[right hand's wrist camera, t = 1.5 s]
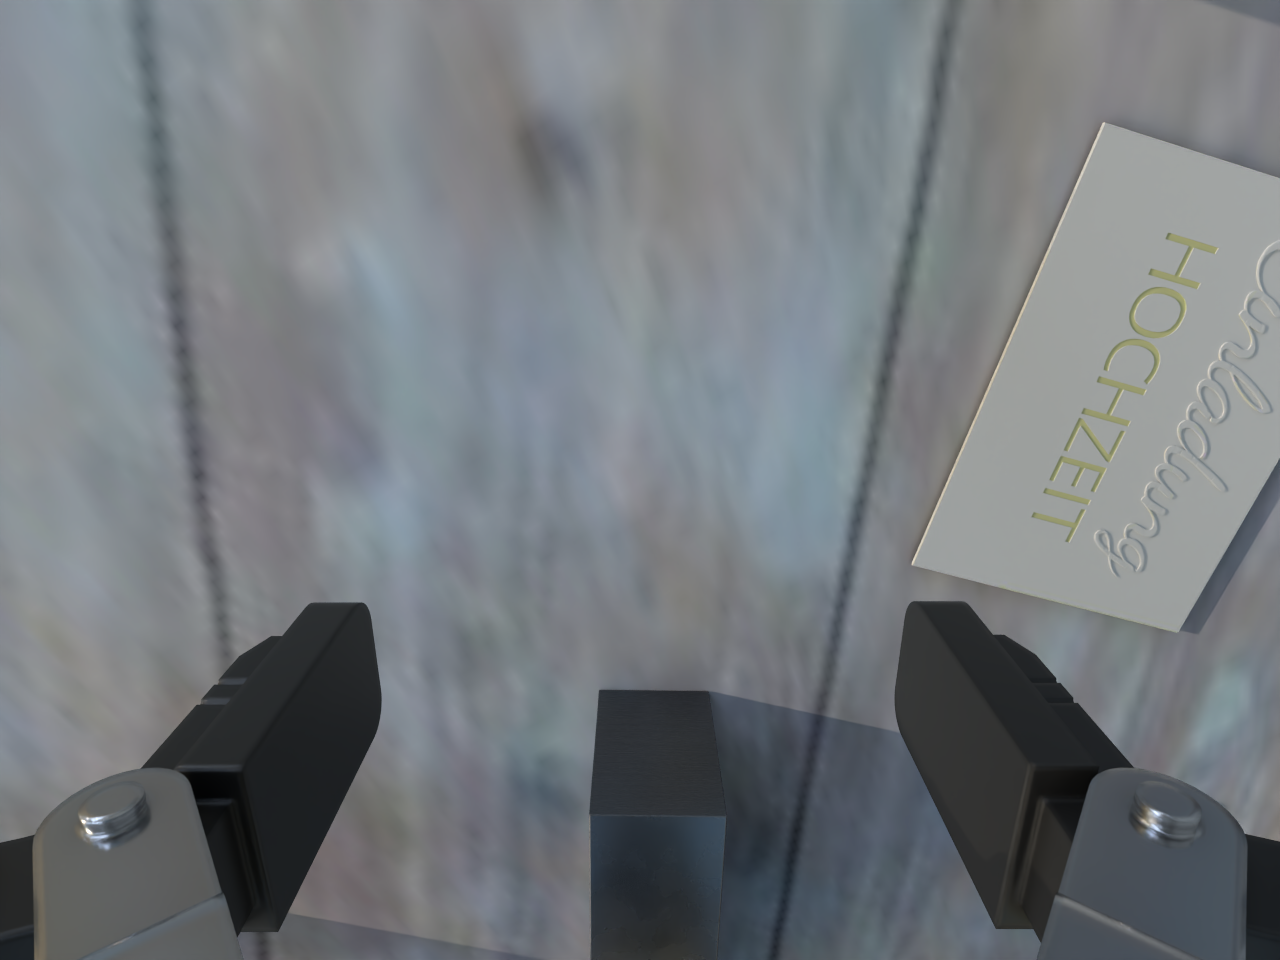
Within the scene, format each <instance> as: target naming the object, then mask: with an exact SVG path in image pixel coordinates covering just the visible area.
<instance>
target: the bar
mask: <svg viewBox="0 0 1280 960" xmlns="http://www.w3.org/2000/svg"><path fill="white" fill-rule="evenodd" d="M726 822H727V814H726V807H725V800H724V793H723V787H722V780H721V773H720V766H719V759H718V753H717V746H716V739H715V732H714V725H713V719H712V712H711V705H710V698H709V692H708V691H638V690H599V698H598V711H597V723H596V736H595V749H594V761H593V774H592V786H591V799H590V812H589V854H590V960H717V951H718V937H719V923H720V908H721V894H722V879H723V865H724V851H725V836H726Z"/></svg>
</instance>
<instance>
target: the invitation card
mask: <svg viewBox="0 0 1280 960" xmlns="http://www.w3.org/2000/svg"><path fill="white" fill-rule="evenodd" d="M1279 459H1280V178H1277V177H1274V176H1271V175H1268V174H1265V173H1262V172H1259V171H1256V170H1252V169H1249V168H1246V167H1243V166H1240V165H1237V164H1234V163H1231V162H1227V161H1224V160H1221V159H1218V158H1215V157H1212V156H1209V155H1206V154H1202V153H1199V152H1196V151H1193V150H1190V149H1187V148H1184V147H1181V146H1177V145H1174V144H1171V143H1168V142H1165V141H1162V140H1159V139H1155V138H1152V137H1149V136H1146V135H1143V134H1140V133H1137V132H1134V131H1130V130H1127V129H1124V128H1121V127H1118V126H1115V125H1112V124H1109V123H1103V124H1102V126H1101V128H1100V130H1099V133H1098V135H1097V137H1096V140H1095V142H1094V144H1093V147H1092V149H1091V151H1090V154H1089V156H1088V158H1087V160H1086V163H1085V165H1084V167H1083V170H1082V172H1081V174H1080V177H1079V179H1078V181H1077V183H1076V186H1075V188H1074V190H1073V193H1072V195H1071V197H1070V200H1069V202H1068V204H1067V207H1066V209H1065V211H1064V213H1063V216H1062V218H1061V220H1060V223H1059V225H1058V227H1057V230H1056V232H1055V234H1054V236H1053V239H1052V241H1051V243H1050V246H1049V248H1048V250H1047V253H1046V255H1045V257H1044V259H1043V262H1042V264H1041V266H1040V269H1039V271H1038V273H1037V276H1036V278H1035V280H1034V283H1033V285H1032V287H1031V289H1030V292H1029V294H1028V296H1027V299H1026V301H1025V303H1024V306H1023V308H1022V310H1021V312H1020V315H1019V317H1018V319H1017V322H1016V324H1015V326H1014V329H1013V331H1012V333H1011V336H1010V338H1009V340H1008V342H1007V345H1006V347H1005V349H1004V352H1003V354H1002V356H1001V359H1000V361H999V363H998V365H997V368H996V370H995V372H994V375H993V377H992V379H991V382H990V384H989V386H988V389H987V391H986V393H985V395H984V398H983V400H982V402H981V405H980V407H979V409H978V412H977V414H976V416H975V418H974V421H973V423H972V425H971V428H970V430H969V432H968V435H967V437H966V439H965V441H964V444H963V446H962V448H961V451H960V453H959V455H958V458H957V460H956V462H955V465H954V467H953V469H952V471H951V474H950V476H949V478H948V481H947V483H946V485H945V488H944V490H943V492H942V494H941V497H940V499H939V501H938V504H937V506H936V508H935V511H934V513H933V515H932V518H931V520H930V522H929V524H928V527H927V529H926V531H925V534H924V536H923V538H922V541H921V543H920V545H919V547H918V550H917V552H916V554H915V557H914V559H913V561H912V565H913V566H917V567H921V568H925V569H929V570H933V571H936V572H940V573H944V574H948V575H952V576H956V577H960V578H964V579H968V580H972V581H976V582H980V583H984V584H987V585H991V586H995V587H999V588H1003V589H1007V590H1011V591H1015V592H1019V593H1023V594H1027V595H1031V596H1035V597H1039V598H1042V599H1046V600H1050V601H1054V602H1058V603H1062V604H1066V605H1070V606H1074V607H1078V608H1082V609H1086V610H1090V611H1093V612H1097V613H1101V614H1105V615H1109V616H1113V617H1117V618H1121V619H1125V620H1129V621H1133V622H1137V623H1141V624H1144V625H1148V626H1152V627H1156V628H1160V629H1164V630H1168V631H1172V632H1176V633H1178V632H1179V630H1180V628H1181V627H1182V625H1183V623H1184V622H1185V620H1186V618H1187V616H1188V615H1189V613H1190V611H1191V610H1192V608H1193V606H1194V604H1195V603H1196V601H1197V599H1198V598H1199V596H1200V594H1201V592H1202V591H1203V589H1204V587H1205V585H1206V584H1207V582H1208V580H1209V579H1210V577H1211V575H1212V573H1213V572H1214V570H1215V568H1216V567H1217V565H1218V563H1219V561H1220V560H1221V558H1222V556H1223V555H1224V553H1225V551H1226V549H1227V548H1228V546H1229V544H1230V543H1231V541H1232V539H1233V537H1234V536H1235V534H1236V532H1237V531H1238V529H1239V527H1240V525H1241V524H1242V522H1243V520H1244V519H1245V517H1246V515H1247V513H1248V512H1249V510H1250V508H1251V507H1252V505H1253V503H1254V501H1255V500H1256V498H1257V496H1258V495H1259V493H1260V491H1261V489H1262V488H1263V486H1264V484H1265V483H1266V481H1267V479H1268V477H1269V476H1270V474H1271V472H1272V471H1273V469H1274V467H1275V465H1276V464H1277V462H1278V460H1279Z"/></svg>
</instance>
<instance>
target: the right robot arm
mask: <svg viewBox="0 0 1280 960" xmlns="http://www.w3.org/2000/svg"><path fill="white" fill-rule="evenodd" d="M895 712H896V718H897V723H898V727H899V730H900V733H901V735H902V737H903V739H904V741H905V744H906V746H907V748H908V750H909V752H910V754H911V756H912V758H913V760H914V762H915V764H916V766H917V768H918V770H919V772H920V774H921V776H922V778H923V780H924V782H925V784H926V787H927V789H928V791H929V793H930V795H931V797H932V799H933V801H934V803H935V805H936V807H937V809H938V811H939V813H940V815H941V817H942V819H943V821H944V823H945V825H946V828H947V830H948V832H949V834H950V836H951V838H952V840H953V842H954V844H955V846H956V848H957V850H958V852H959V854H960V856H961V858H962V860H963V862H964V864H965V866H966V868H967V871H968V873H969V875H970V877H971V879H972V881H973V883H974V885H975V887H976V889H977V891H978V893H979V895H980V897H981V899H982V901H983V903H984V905H985V907H986V909H987V911H988V914H989V916H990V918H991V920H992V922H993V924H994V926H995V928H996V929H1034V931H1035V933H1036V935H1037V936H1038V938H1039V940H1040V942H1041V946H1040V949H1039V953H1038V956H1037V960H1280V842H1279V841H1274V840H1270V839H1265V838H1261V837H1256V836H1252V835H1247V834H1244V831H1243V829H1242V828H1241V826H1240V825H1239V823H1238V822H1237V820H1236V819H1235V818H1234V817H1233V816H1232V815H1231V814H1230V813H1229V812H1228V811H1227V810H1226V809H1225V808H1224V807H1223V806H1222V805H1220V804H1219V803H1218V802H1217V801H1215V800H1214V799H1212V798H1211V797H1210V796H1208V795H1207V794H1205V793H1203V792H1202V791H1200V790H1198V789H1197V788H1195V787H1193V786H1191V785H1189V784H1187V783H1185V782H1182V781H1180V780H1178V779H1175V778H1173V777H1170V776H1167V775H1164V774H1161V773H1157V772H1153V771H1149V770H1144V769H1137V768H1134V767H1133V766H1132V765H1131V764H1130V763H1129V761H1128V760H1127V759H1126V758H1125V757H1124V756H1123V755H1122V753H1121V752H1120V751H1119V750H1118V749H1117V748H1116V746H1115V745H1114V744H1113V743H1112V742H1111V741H1110V740H1109V738H1108V737H1107V736H1106V735H1105V734H1104V733H1103V732H1102V730H1101V729H1100V728H1099V727H1098V726H1097V725H1096V723H1095V722H1094V721H1093V720H1092V719H1091V718H1090V717H1089V715H1088V714H1087V713H1086V712H1085V711H1084V710H1083V709H1082V707H1081V706H1080V705H1079V704H1078V703H1074V702H1073V697H1072V696H1071V695H1070V694H1069V692H1068V691H1067V690H1066V689H1065V688H1064V687H1063V686H1062V684H1061V683H1057V682H1056V677H1055V676H1054V675H1053V674H1052V673H1051V672H1050V671H1049V669H1048V668H1047V667H1046V666H1045V665H1044V664H1043V663H1042V661H1041V660H1040V659H1039V658H1038V657H1037V656H1036V655H1035V654H1034V653H1032V652H1030V651H1029V650H1027V649H1026V648H1024V647H1023V646H1021V645H1019V644H1018V643H1016V642H1015V641H1013V640H1011V639H1010V638H1008V637H1007V636H1005V635H993V634H992V633H991V632H990V631H989V629H988V628H987V627H986V626H985V624H984V623H983V622H982V621H981V619H980V618H979V617H978V616H977V614H976V613H975V612H974V611H973V610H972V608H971V607H970V606H969V605H968V604H967V603H966V602H963V601H914V602H911V603H910V604H909V606H908V608H907V611H906V614H905V620H904V628H903V635H902V642H901V650H900V657H899V664H898V672H897V679H896V686H895ZM380 714H381V687H380V680H379V672H378V665H377V658H376V651H375V644H374V636H373V629H372V622H371V616H370V612H369V609H368V607H367V606H366V605H365V604H364V603H310V604H309V605H308V606H307V607H306V608H305V609H304V610H303V611H302V613H301V614H300V615H299V616H298V618H297V619H296V620H295V621H294V622H293V624H292V625H291V626H290V627H289V628H288V630H287V631H286V632H285V633H284V635H283V636H271V637H269V638H268V639H266V640H265V641H263V642H261V643H260V644H258V645H257V646H255V647H253V648H252V649H250V650H249V651H247V652H245V653H244V654H242V655H241V656H239V657H238V658H237V660H236V661H235V662H234V663H233V664H232V665H231V666H230V667H229V669H228V670H227V671H226V672H225V673H224V674H223V675H222V677H221V678H220V679H219V683H218V685H214V686H213V687H212V688H211V689H210V690H209V691H208V693H207V694H206V695H205V696H204V697H203V698H202V699H201V705H196V706H195V707H194V709H193V710H192V711H191V712H190V713H189V714H188V715H187V716H186V718H185V719H184V720H183V721H182V722H181V723H180V724H179V726H178V727H177V728H176V729H175V730H174V731H173V732H172V734H171V735H170V736H169V737H168V738H167V739H166V740H165V742H164V743H163V744H162V745H161V746H160V747H159V748H158V750H157V751H156V752H155V753H154V754H153V755H152V756H151V758H150V759H149V760H148V761H147V762H146V763H145V764H144V765H143V767H142V768H141V769H136V770H131V771H127V772H123V773H119V774H116V775H113V776H110V777H107V778H105V779H102V780H100V781H98V782H95V783H93V784H91V785H89V786H87V787H85V788H83V789H82V790H80V791H78V792H77V793H75V794H73V795H72V796H70V797H69V798H68V799H66V800H65V801H63V802H62V803H61V804H60V805H58V806H57V807H56V808H55V809H54V810H53V811H52V812H51V813H50V814H49V815H48V816H47V817H46V818H45V819H44V820H43V822H42V823H41V825H40V826H39V828H38V829H37V831H36V834H35V835H32V836H28V837H24V838H20V839H16V840H11V841H7V842H2V843H0V960H243V956H242V953H241V949H240V946H239V943H238V939H237V937H238V935H239V933H240V932H278V931H279V929H280V927H281V925H282V923H283V921H284V919H285V917H286V915H287V913H288V911H289V909H290V907H291V905H292V903H293V901H294V899H295V897H296V895H297V893H298V891H299V889H300V887H301V885H302V883H303V881H304V879H305V877H306V875H307V872H308V870H309V868H310V866H311V864H312V862H313V860H314V858H315V856H316V854H317V852H318V850H319V848H320V846H321V844H322V842H323V840H324V838H325V836H326V834H327V832H328V830H329V828H330V826H331V824H332V822H333V820H334V818H335V816H336V814H337V812H338V810H339V808H340V806H341V804H342V802H343V800H344V798H345V796H346V794H347V792H348V790H349V788H350V785H351V783H352V781H353V779H354V777H355V775H356V773H357V771H358V769H359V767H360V765H361V763H362V761H363V759H364V757H365V755H366V753H367V751H368V749H369V747H370V745H371V743H372V741H373V739H374V737H375V734H376V732H377V729H378V725H379V720H380Z"/></svg>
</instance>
